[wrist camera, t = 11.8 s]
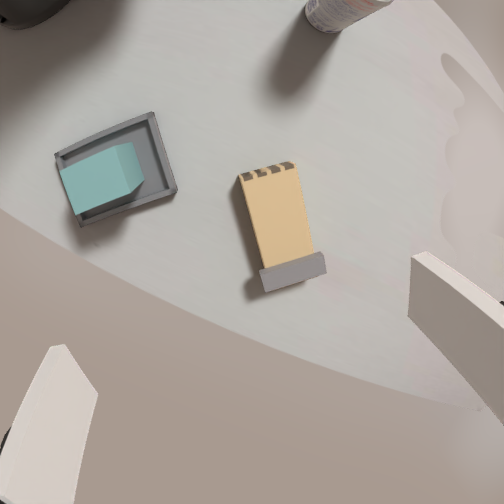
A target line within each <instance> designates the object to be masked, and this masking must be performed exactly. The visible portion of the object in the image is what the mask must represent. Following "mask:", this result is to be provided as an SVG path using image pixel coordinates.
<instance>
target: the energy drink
mask: <svg viewBox="0 0 504 504" xmlns="http://www.w3.org/2000/svg"><path fill="white" fill-rule="evenodd" d="M392 2H393V0H309V1H308V2H307V4H306V6H305V14H306V17H307V19H308V21H309V22H310V23H311V24H312V25H313V26H314V27H315V28H316V29H318V30H320V31H322V32H326V33H337V32H339V31H341V30H343V29H345V28H346V27H348V26H350V25H352V24H353V23H355V22H357V21H359V20H361V19H362V18H364V17H366V16H368V15H370V14H372V13H374V12H376V11H377V10H379V9H381V8H383V7H385V6H387V5H389V4H391V3H392Z"/></svg>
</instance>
